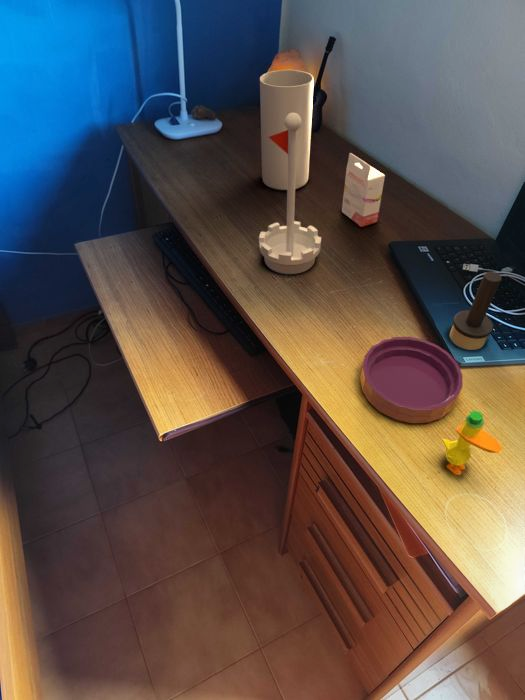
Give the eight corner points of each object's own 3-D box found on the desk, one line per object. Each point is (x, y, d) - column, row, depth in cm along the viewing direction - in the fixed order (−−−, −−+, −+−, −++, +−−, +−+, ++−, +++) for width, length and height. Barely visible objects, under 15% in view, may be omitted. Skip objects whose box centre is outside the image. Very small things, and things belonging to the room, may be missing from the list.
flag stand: (330, 253, 102) (344, 108, 81) (299, 284, 95) (306, 134, 73) (280, 235, 108) (281, 95, 86) (247, 264, 100) (240, 118, 79)
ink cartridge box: (378, 222, 111) (389, 161, 100) (361, 228, 109) (370, 167, 98) (357, 206, 116) (365, 147, 105) (340, 211, 114) (347, 152, 104)
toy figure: (484, 474, 65) (516, 425, 56) (473, 492, 63) (504, 444, 55) (440, 446, 68) (464, 396, 60) (428, 463, 66) (451, 413, 58)
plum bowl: (475, 409, 73) (483, 393, 70) (389, 437, 70) (394, 421, 67) (421, 343, 83) (427, 327, 80) (344, 366, 80) (346, 349, 77)
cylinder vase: (294, 196, 120) (297, 90, 102) (253, 184, 125) (249, 81, 107) (316, 176, 127) (322, 74, 109) (277, 166, 132) (277, 67, 114)
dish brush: (493, 345, 82) (523, 283, 72) (462, 354, 81) (488, 293, 71) (471, 322, 86) (496, 260, 76) (441, 330, 85) (463, 269, 75)
